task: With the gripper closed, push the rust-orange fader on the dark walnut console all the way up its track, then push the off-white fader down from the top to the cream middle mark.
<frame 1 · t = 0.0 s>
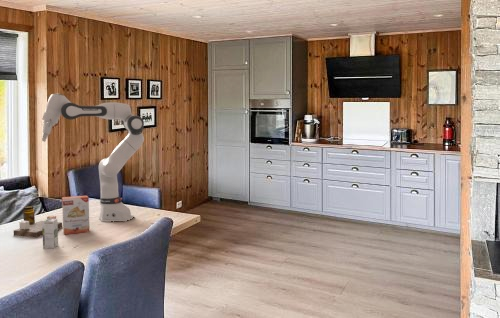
hand: (43, 140, 265), 52 cm above the table, tool tilted 20°, fingers open, 8 cm apart
cracker box: (76, 232, 254), on the table
condiment: (27, 226, 267), on the table
orange fader: (51, 219, 261), point 5 cm above the table, slide at 0.0 cm
white fader: (24, 224, 249), point 5 cm above the table, slide at 14.0 cm
console: (38, 231, 256), on the table
syrup box: (51, 247, 227), on the table
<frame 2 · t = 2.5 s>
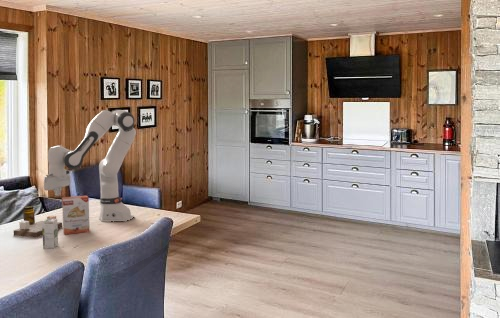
hand: (57, 195, 266), 19 cm above the table, tool pointing down, fingers closed
nothing on the table moved.
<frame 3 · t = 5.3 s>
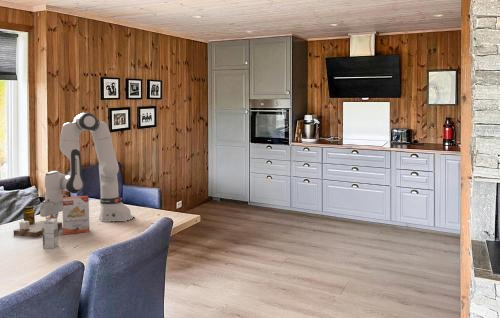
hand: (54, 220, 264), 4 cm above the table, tool pointing down, fingers closed
orange fader: (50, 220, 260), point 5 cm above the table, slide at 1.2 cm, touching gripper
everything else where it was.
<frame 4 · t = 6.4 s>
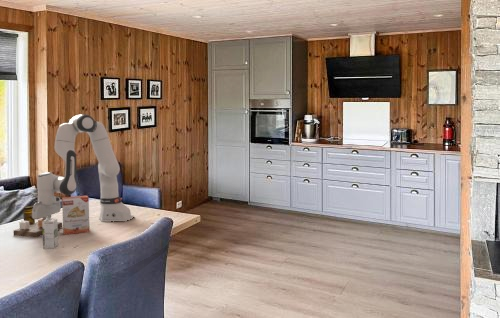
hand: (47, 223, 258), 4 cm above the table, tool pointing down, fingers closed
orange fader: (42, 222, 254), point 5 cm above the table, slide at 7.5 cm, touching gripper
everything else where it was.
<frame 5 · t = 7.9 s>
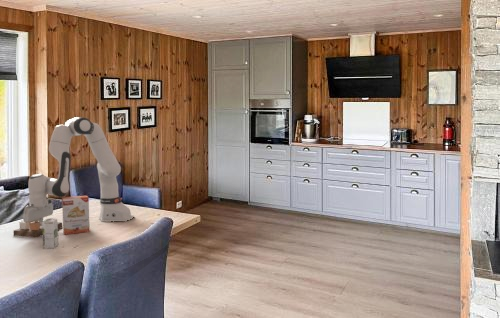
hand: (39, 226, 251), 4 cm above the table, tool pointing down, fingers closed
orange fader: (34, 225, 248), point 5 cm above the table, slide at 14.1 cm, touching gripper
everything else where it was.
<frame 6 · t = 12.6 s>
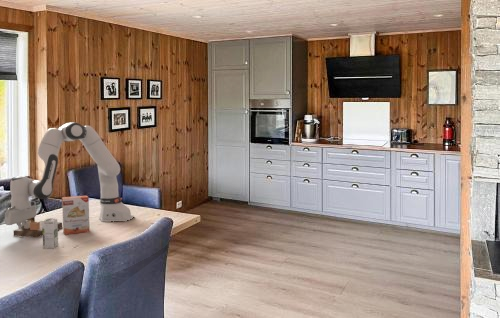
hand: (21, 228, 247), 4 cm above the table, tool pointing down, fingers closed
orange fader: (34, 225, 248), point 5 cm above the table, slide at 14.1 cm
white fader: (26, 224, 251), point 5 cm above the table, slide at 12.4 cm, touching gripper
everything else where it was.
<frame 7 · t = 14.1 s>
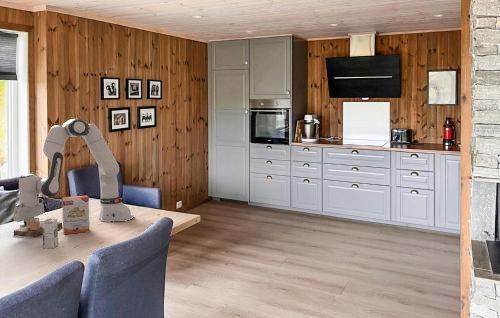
hand: (29, 225, 253), 4 cm above the table, tool pointing down, fingers closed
white fader: (34, 221, 257), point 5 cm above the table, slide at 6.0 cm, touching gripper
everything else where it was.
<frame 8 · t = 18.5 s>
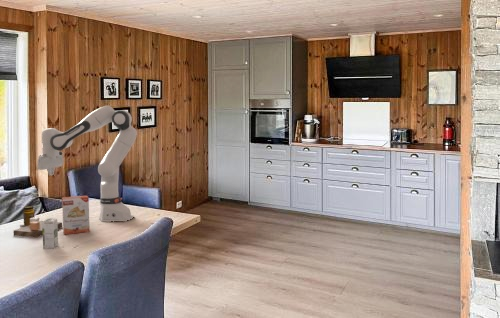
hand: (51, 175, 280), 29 cm above the table, tool pointing down, fingers closed
white fader: (34, 221, 257), point 5 cm above the table, slide at 5.9 cm
everything else where it was.
at the end: orange fader slide at 14.1 cm; white fader slide at 5.9 cm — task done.
